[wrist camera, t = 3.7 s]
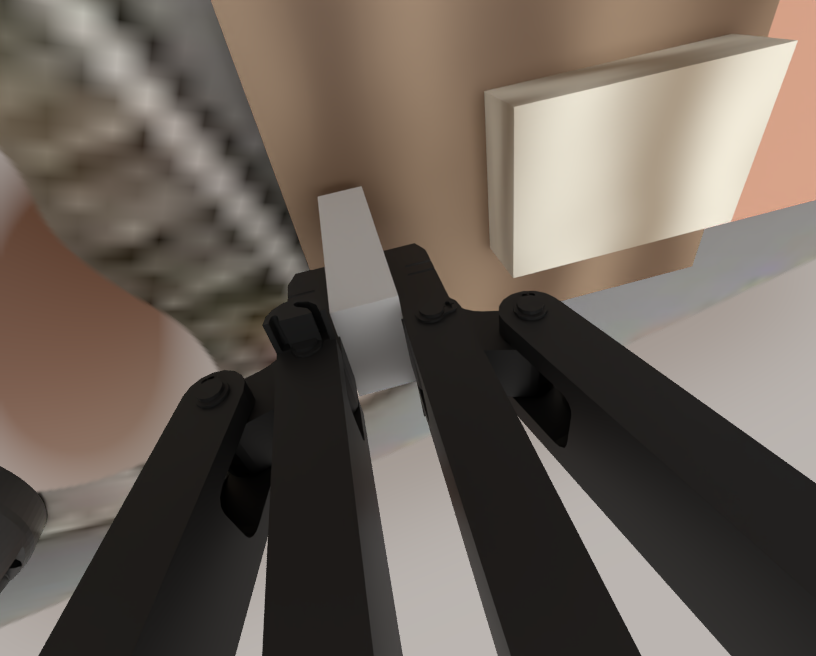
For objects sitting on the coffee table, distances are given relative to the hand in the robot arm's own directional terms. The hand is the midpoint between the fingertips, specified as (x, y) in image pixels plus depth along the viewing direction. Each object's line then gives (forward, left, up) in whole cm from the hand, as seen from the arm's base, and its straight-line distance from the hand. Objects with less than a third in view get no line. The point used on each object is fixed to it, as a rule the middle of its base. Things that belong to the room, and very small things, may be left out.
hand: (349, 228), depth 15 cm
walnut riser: (+7, 0, -5) cm, 9 cm away
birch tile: (+10, 0, -1) cm, 10 cm away
